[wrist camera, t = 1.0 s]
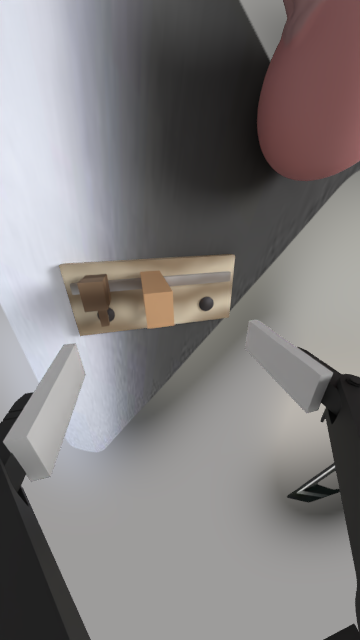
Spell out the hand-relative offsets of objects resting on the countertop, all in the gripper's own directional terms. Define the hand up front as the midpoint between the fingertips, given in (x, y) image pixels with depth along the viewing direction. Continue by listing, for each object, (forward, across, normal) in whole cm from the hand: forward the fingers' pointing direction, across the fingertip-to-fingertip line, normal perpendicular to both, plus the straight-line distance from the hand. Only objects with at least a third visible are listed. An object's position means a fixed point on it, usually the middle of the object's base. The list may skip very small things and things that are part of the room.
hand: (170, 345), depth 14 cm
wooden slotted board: (+21, +1, -2) cm, 21 cm away
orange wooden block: (+19, 0, -2) cm, 19 cm away
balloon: (+21, +20, +23) cm, 37 cm away
